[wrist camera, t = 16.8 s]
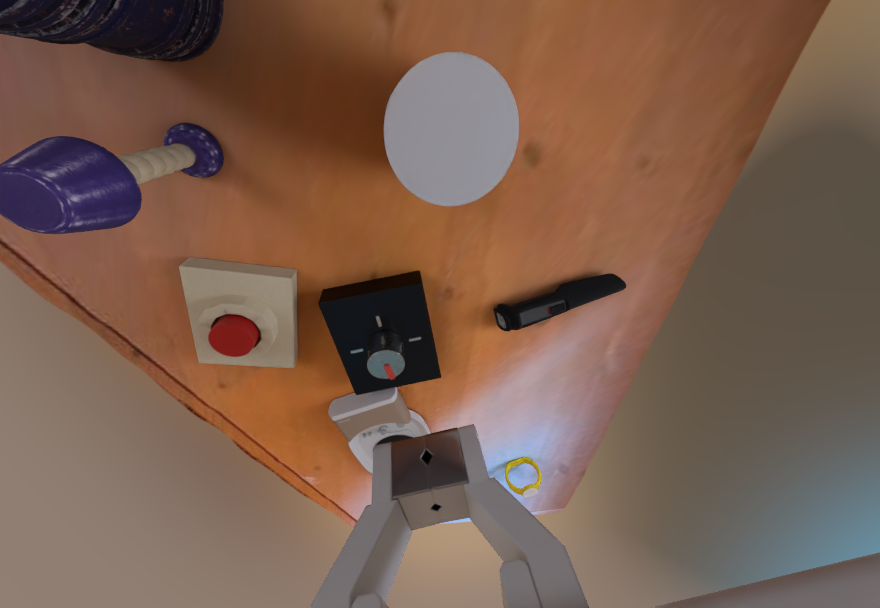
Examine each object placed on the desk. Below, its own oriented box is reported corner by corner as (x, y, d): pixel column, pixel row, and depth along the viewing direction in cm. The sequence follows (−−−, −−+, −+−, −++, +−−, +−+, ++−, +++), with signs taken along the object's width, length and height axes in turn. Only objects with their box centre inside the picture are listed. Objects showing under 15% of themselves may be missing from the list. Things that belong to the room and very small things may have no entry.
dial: (362, 337, 37) (360, 359, 34) (396, 326, 37) (397, 347, 34) (376, 362, 39) (375, 385, 36) (408, 351, 39) (410, 374, 36)
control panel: (322, 289, 37) (317, 304, 34) (419, 270, 37) (422, 283, 34) (357, 378, 44) (355, 396, 41) (438, 362, 45) (441, 378, 42)
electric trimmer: (611, 287, 42) (627, 300, 40) (497, 327, 43) (505, 341, 40) (611, 262, 40) (627, 273, 38) (491, 304, 41) (499, 317, 38)
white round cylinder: (372, 83, 28) (364, 72, 17) (466, 60, 28) (513, 35, 18) (398, 182, 32) (404, 219, 22) (479, 161, 32) (523, 189, 22)
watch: (502, 469, 60) (513, 502, 55) (500, 460, 59) (510, 494, 54) (534, 460, 60) (547, 492, 55) (532, 451, 59) (546, 484, 54)
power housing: (189, 256, 33) (167, 274, 29) (297, 269, 35) (287, 286, 32) (207, 350, 39) (190, 374, 35) (298, 356, 41) (290, 379, 38)
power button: (213, 312, 32) (205, 322, 31) (257, 316, 33) (251, 326, 32) (218, 344, 34) (211, 355, 33) (260, 347, 35) (254, 358, 34)
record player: (403, 394, 42) (445, 473, 53) (402, 377, 45) (443, 455, 56) (318, 421, 43) (377, 494, 54) (322, 402, 45) (378, 476, 56)
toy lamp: (214, 117, 27) (32, 133, 13) (241, 175, 30) (112, 242, 16) (155, 128, 27) (-92, 156, 13) (188, 186, 30) (9, 262, 16)
